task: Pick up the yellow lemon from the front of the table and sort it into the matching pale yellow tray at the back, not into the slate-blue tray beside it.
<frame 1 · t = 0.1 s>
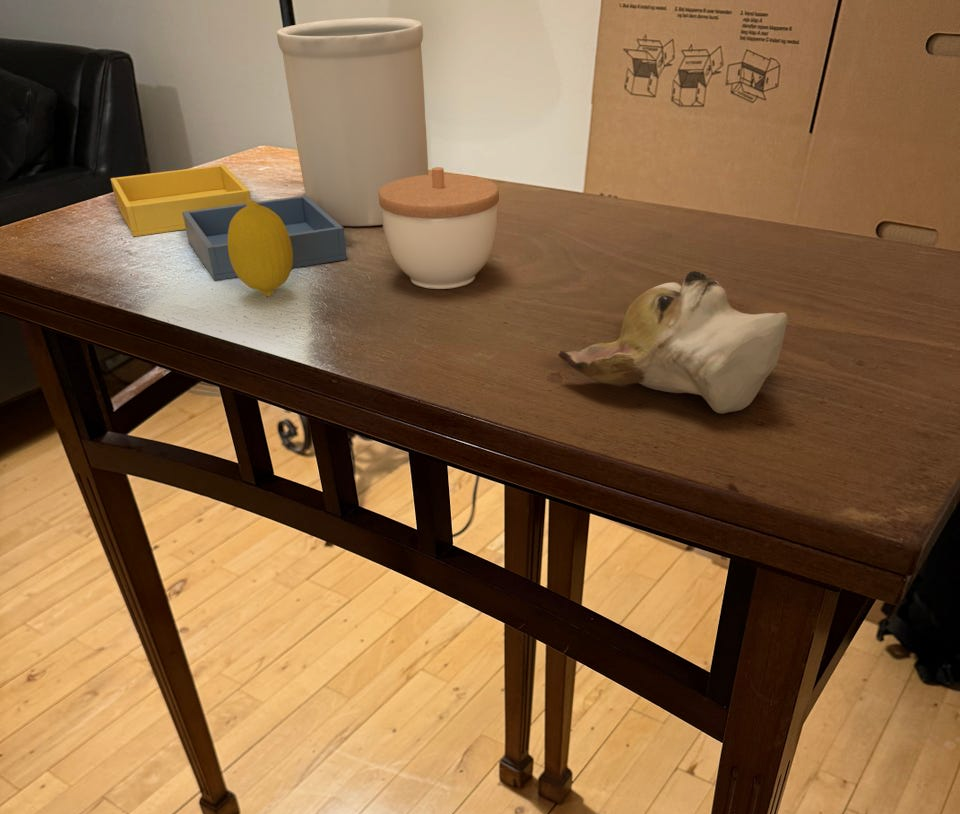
yellow tray: (184, 212, 104), on the table
lemon: (268, 298, 83), on the table
ceramic sculpture: (674, 392, 66), on the table
utensil holder: (367, 211, 103), on the table
blue tray: (265, 250, 93), on the table
trinket box: (442, 280, 86), on the table
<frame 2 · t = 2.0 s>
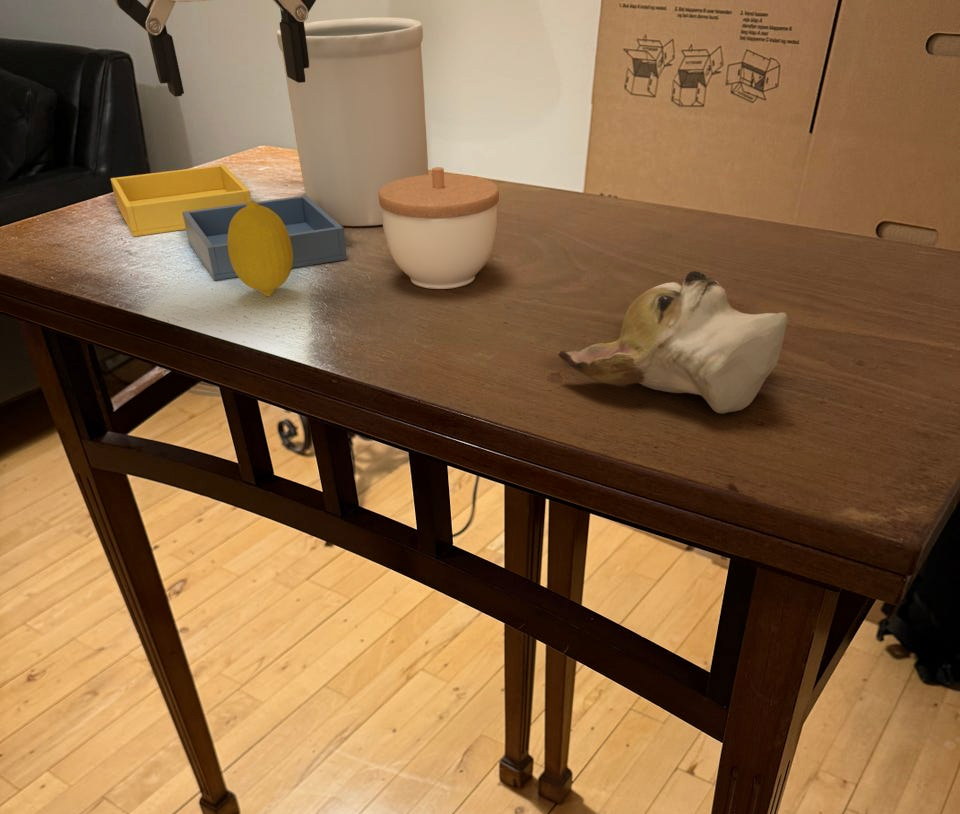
hand: (237, 86, 72), 16 cm above the table, tool pointing down, fingers open, 9 cm apart
nothing on the table moved.
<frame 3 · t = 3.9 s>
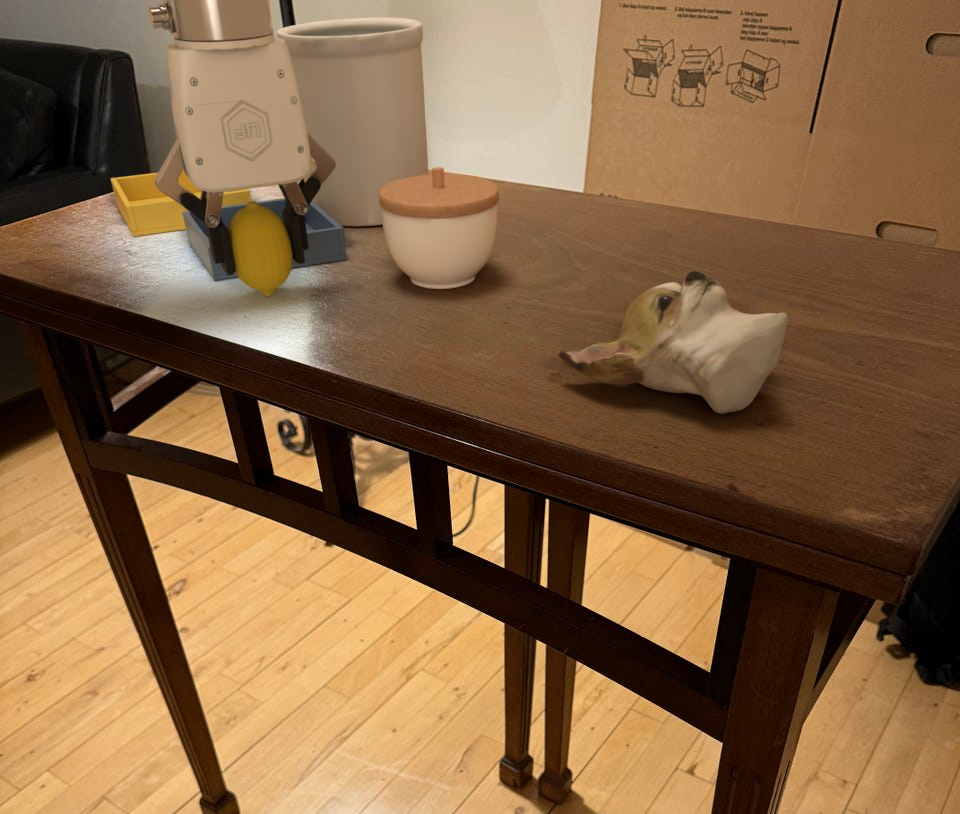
hand: (262, 262, 81), 3 cm above the table, tool pointing down, fingers closed on lemon, 5 cm apart
lemon: (268, 298, 83), on the table, touching gripper
everything else where it was.
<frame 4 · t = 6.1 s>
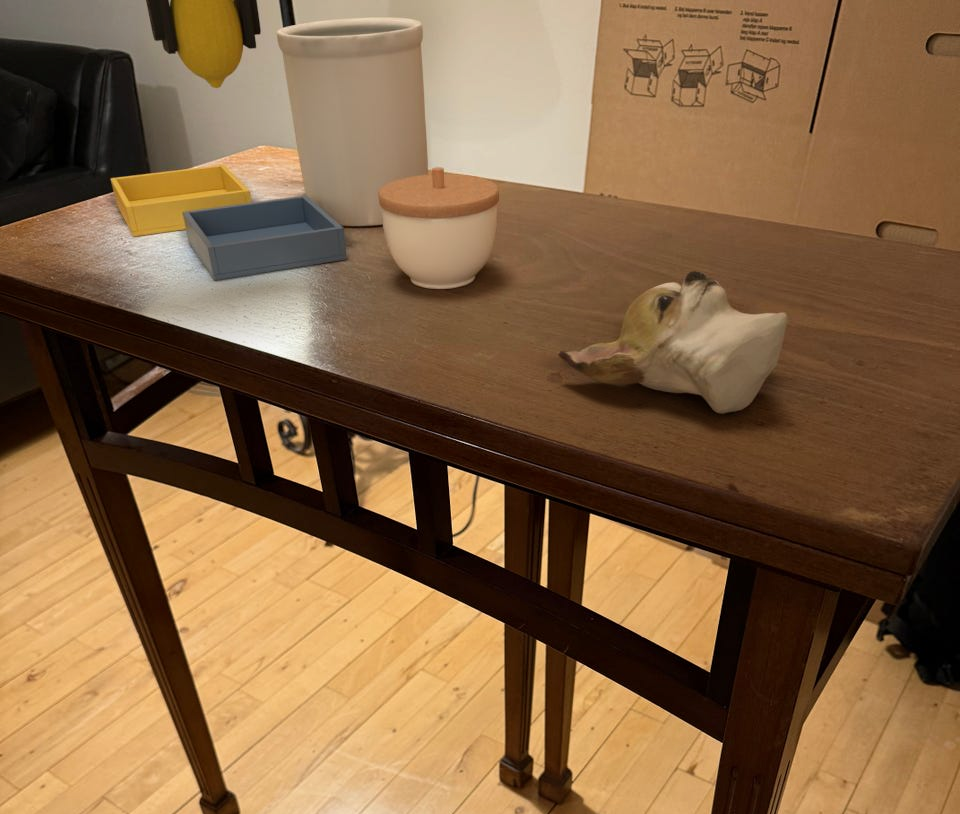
hand: (209, 46, 73), 19 cm above the table, tool pointing down, fingers closed on lemon, 5 cm apart
lemon: (217, 91, 75), point 16 cm above the table, touching gripper
everything else where it was.
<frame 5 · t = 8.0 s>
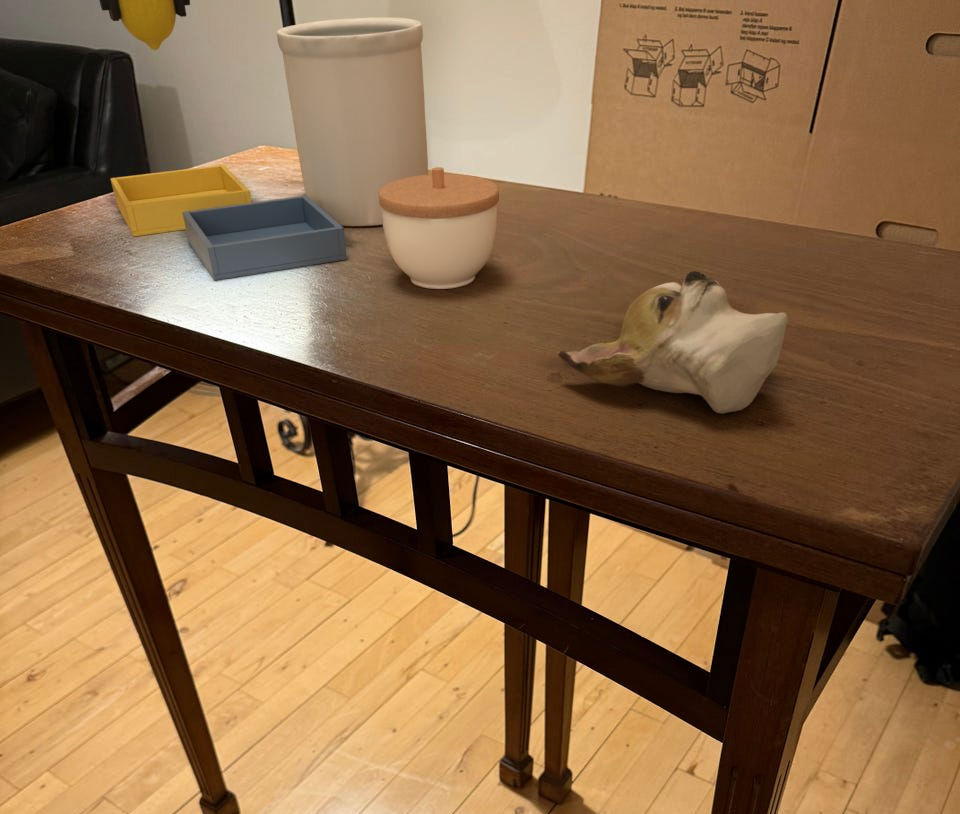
hand: (148, 15, 89), 19 cm above the table, tool pointing down, fingers closed on lemon, 5 cm apart
lemon: (155, 52, 91), point 16 cm above the table, touching gripper
everything else where it was.
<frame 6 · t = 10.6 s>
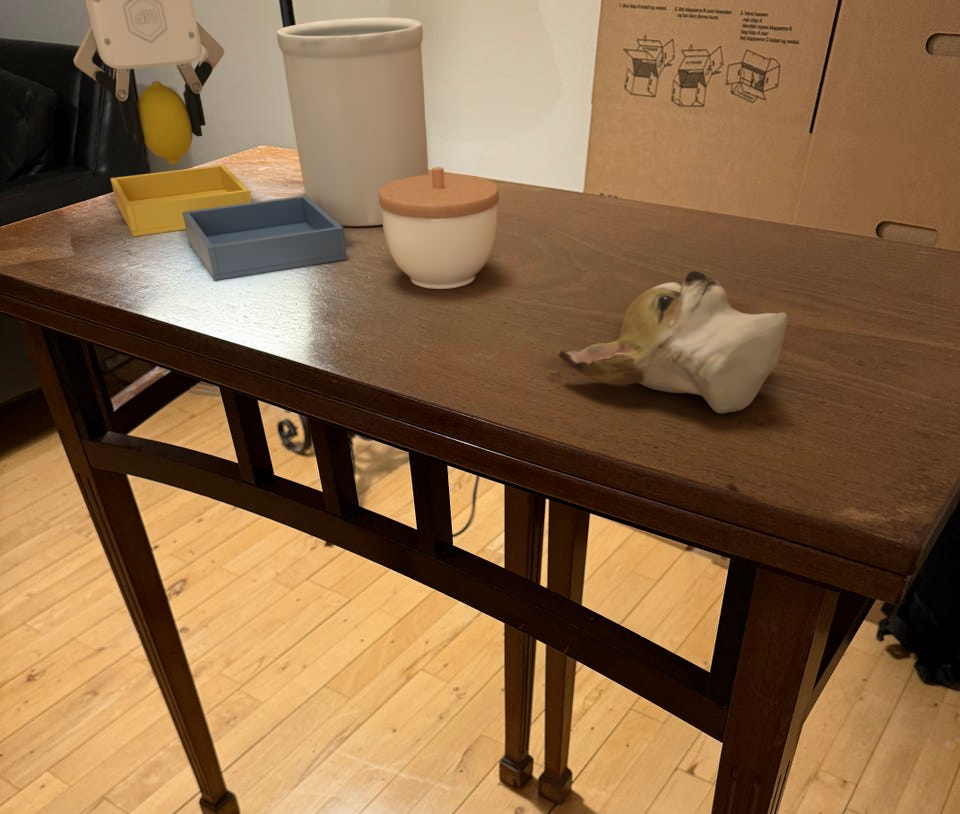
hand: (167, 135, 99), 8 cm above the table, tool pointing down, fingers closed on lemon, 5 cm apart
lemon: (174, 166, 101), point 5 cm above the table, touching gripper
everything else where it was.
when the fingers open (3 cm above the table, at t = 12.2 s): lemon stays where it is, resting on yellow tray.
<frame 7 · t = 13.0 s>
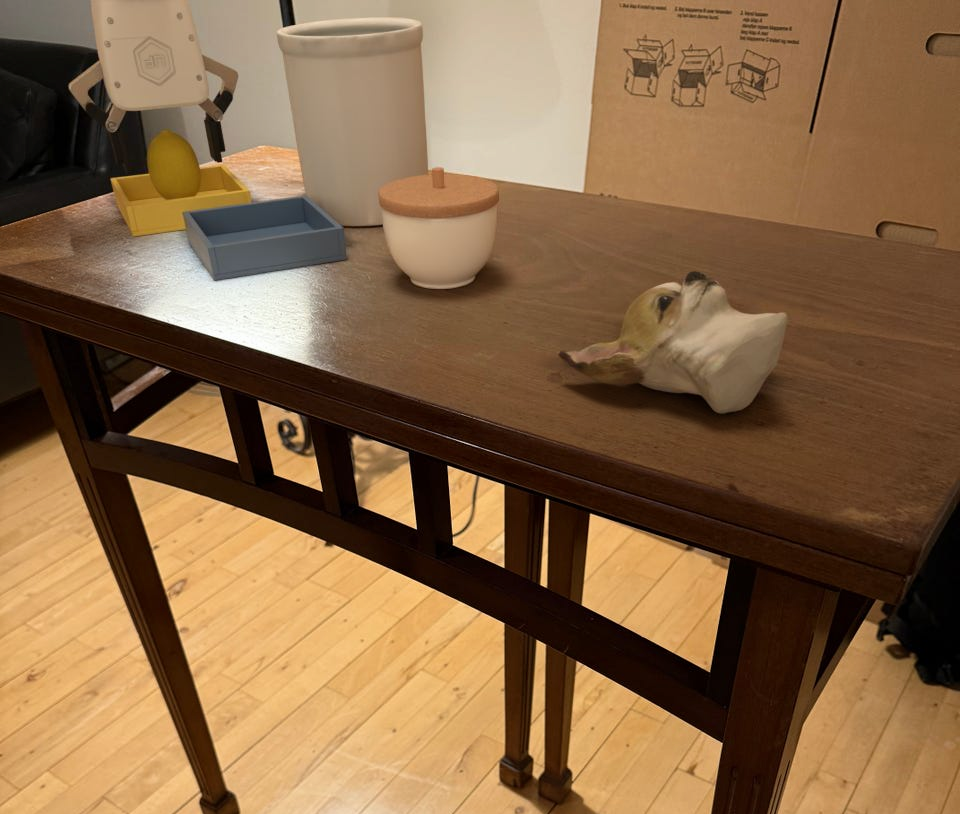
hand: (173, 165, 101), 5 cm above the table, tool pointing down, fingers open, 9 cm apart
lemon: (183, 210, 104), resting on yellow tray
everything else where it was.
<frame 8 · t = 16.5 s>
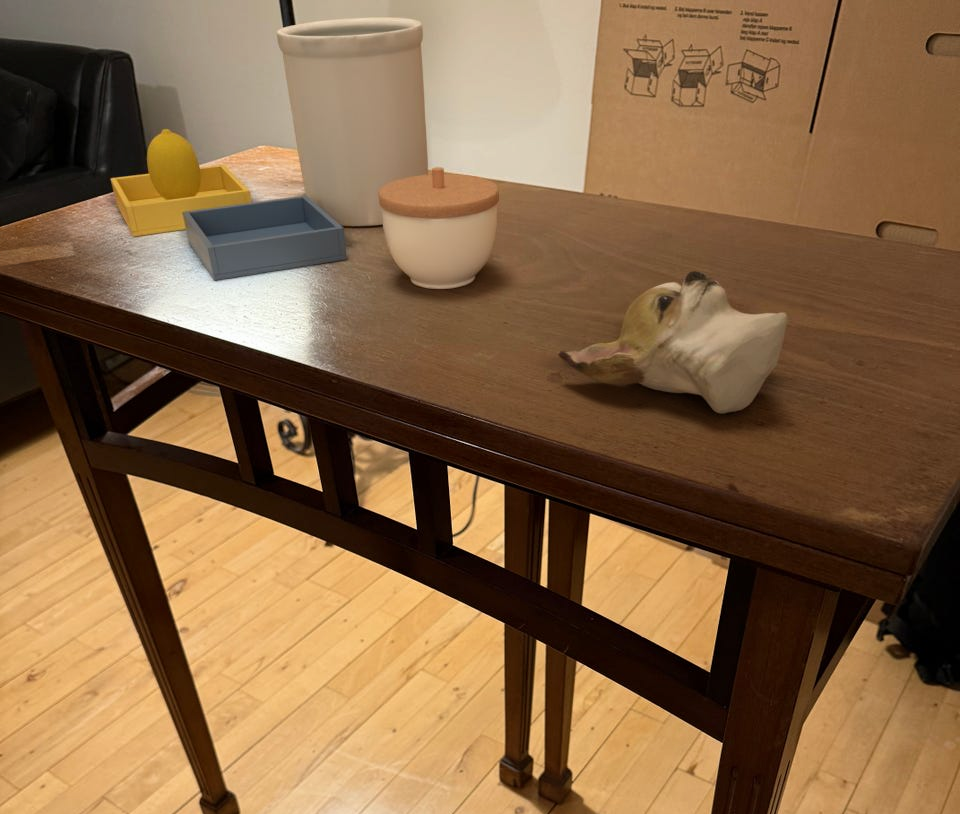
nothing on the table moved.
at the end: lemon inside the target area in the yellow tray (0.1 cm from its centre), point 0.3 cm above the yellow tray's base; lemon touching yellow tray; the gripper is holding nothing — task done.
